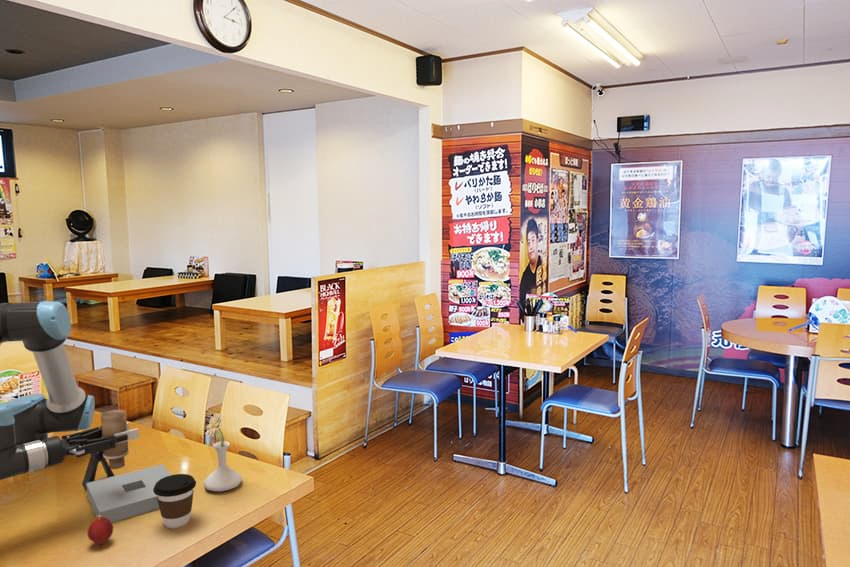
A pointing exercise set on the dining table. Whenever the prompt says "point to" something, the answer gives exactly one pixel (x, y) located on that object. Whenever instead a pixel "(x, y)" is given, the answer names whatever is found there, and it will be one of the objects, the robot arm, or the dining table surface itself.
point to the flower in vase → (220, 461)
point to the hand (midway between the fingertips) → (133, 429)
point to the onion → (100, 530)
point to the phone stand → (92, 468)
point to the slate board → (126, 493)
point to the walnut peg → (110, 426)
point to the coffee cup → (175, 499)
